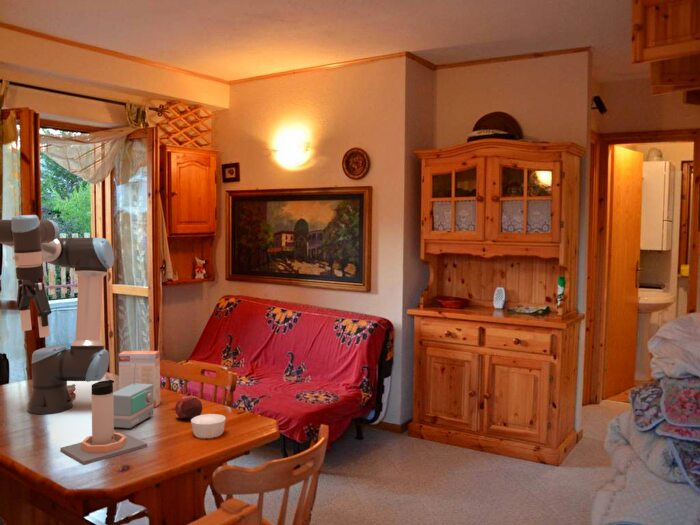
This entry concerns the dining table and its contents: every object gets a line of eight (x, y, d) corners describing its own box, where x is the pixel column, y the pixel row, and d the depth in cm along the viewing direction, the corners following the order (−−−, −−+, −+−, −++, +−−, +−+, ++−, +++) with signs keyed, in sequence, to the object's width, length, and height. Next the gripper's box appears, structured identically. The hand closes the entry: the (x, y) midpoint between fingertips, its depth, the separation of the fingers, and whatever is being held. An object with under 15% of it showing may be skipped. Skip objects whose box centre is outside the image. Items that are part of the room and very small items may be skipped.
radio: (133, 431, 208) (132, 372, 207) (108, 429, 210) (107, 371, 209) (156, 416, 224) (156, 362, 223) (134, 415, 226) (133, 361, 225)
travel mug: (118, 445, 192) (117, 381, 191) (98, 451, 187) (97, 385, 186) (109, 440, 196) (108, 378, 195) (88, 446, 191) (87, 382, 190)
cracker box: (161, 403, 240) (160, 350, 239) (155, 408, 234) (155, 353, 233) (125, 403, 240) (124, 349, 239) (119, 407, 234) (118, 353, 233)
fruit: (199, 422, 218) (199, 394, 217) (172, 422, 218) (172, 394, 217) (205, 414, 227) (205, 387, 226) (179, 414, 227) (179, 387, 226)
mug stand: (60, 451, 190) (60, 441, 189) (122, 434, 204) (121, 425, 204) (83, 464, 179) (83, 454, 179) (147, 446, 194) (147, 437, 193)
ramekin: (185, 433, 206) (185, 417, 206) (215, 426, 214) (215, 411, 213) (201, 442, 198) (201, 426, 198) (231, 435, 205) (231, 419, 205)
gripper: (0, 264, 195) (7, 330, 198) (33, 270, 179) (39, 342, 181) (25, 261, 201) (31, 325, 203) (59, 267, 184) (65, 336, 187)
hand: (35, 333), depth 192 cm, fingers open, 13 cm apart
